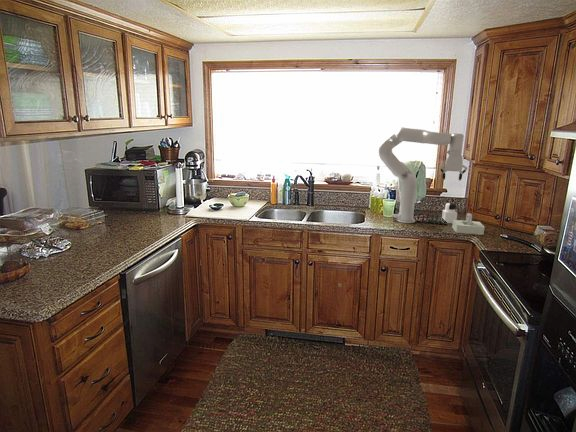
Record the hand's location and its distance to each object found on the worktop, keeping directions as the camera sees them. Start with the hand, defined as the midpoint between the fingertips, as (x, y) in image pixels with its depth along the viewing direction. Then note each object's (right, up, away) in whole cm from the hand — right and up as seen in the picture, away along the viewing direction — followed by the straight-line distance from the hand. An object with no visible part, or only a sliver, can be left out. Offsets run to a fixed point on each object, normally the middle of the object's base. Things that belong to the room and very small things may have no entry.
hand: (451, 179), depth 259 cm
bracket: (+7, -33, -6) cm, 34 cm away
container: (+4, -28, +15) cm, 32 cm away
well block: (+8, -33, -6) cm, 34 cm away
